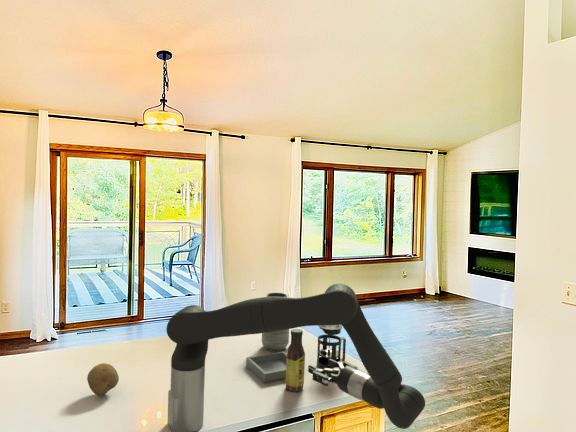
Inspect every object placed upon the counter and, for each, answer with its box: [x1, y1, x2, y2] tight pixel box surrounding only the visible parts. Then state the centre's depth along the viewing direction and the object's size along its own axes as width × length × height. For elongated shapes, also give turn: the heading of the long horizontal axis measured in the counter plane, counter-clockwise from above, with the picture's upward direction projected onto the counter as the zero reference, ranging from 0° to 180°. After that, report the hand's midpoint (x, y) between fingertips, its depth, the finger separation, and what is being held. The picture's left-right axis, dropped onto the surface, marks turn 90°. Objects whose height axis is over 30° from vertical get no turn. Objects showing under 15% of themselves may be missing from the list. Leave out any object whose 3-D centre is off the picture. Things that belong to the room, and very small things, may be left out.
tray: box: [245, 350, 287, 385], centre depth 155 cm, size 16×16×4 cm
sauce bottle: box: [285, 328, 306, 392], centre depth 142 cm, size 6×6×20 cm
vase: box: [261, 292, 290, 353], centre depth 178 cm, size 12×12×23 cm
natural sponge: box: [86, 363, 119, 397], centre depth 132 cm, size 9×9×10 cm
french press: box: [315, 325, 347, 375], centre depth 158 cm, size 12×9×23 cm
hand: (318, 364), depth 133 cm, fingers open, 8 cm apart
